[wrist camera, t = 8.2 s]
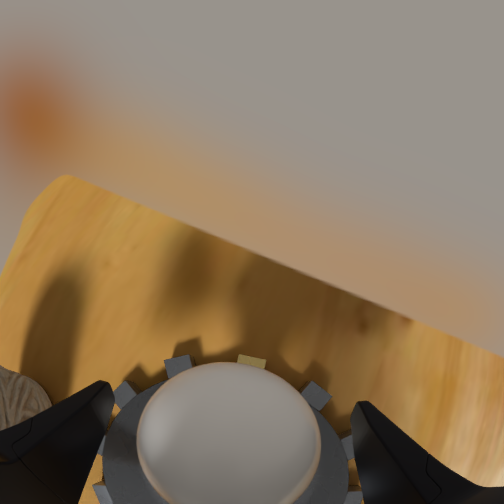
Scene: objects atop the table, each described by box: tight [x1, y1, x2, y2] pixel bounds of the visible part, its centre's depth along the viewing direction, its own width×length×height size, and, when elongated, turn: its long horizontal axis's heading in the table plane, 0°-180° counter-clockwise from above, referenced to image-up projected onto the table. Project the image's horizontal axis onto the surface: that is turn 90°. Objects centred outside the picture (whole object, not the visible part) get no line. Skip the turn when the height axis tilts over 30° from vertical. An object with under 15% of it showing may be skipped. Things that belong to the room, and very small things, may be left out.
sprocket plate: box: [92, 354, 363, 504], centre depth 13 cm, size 19×19×2 cm
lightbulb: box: [136, 362, 321, 504], centre depth 10 cm, size 6×6×11 cm
